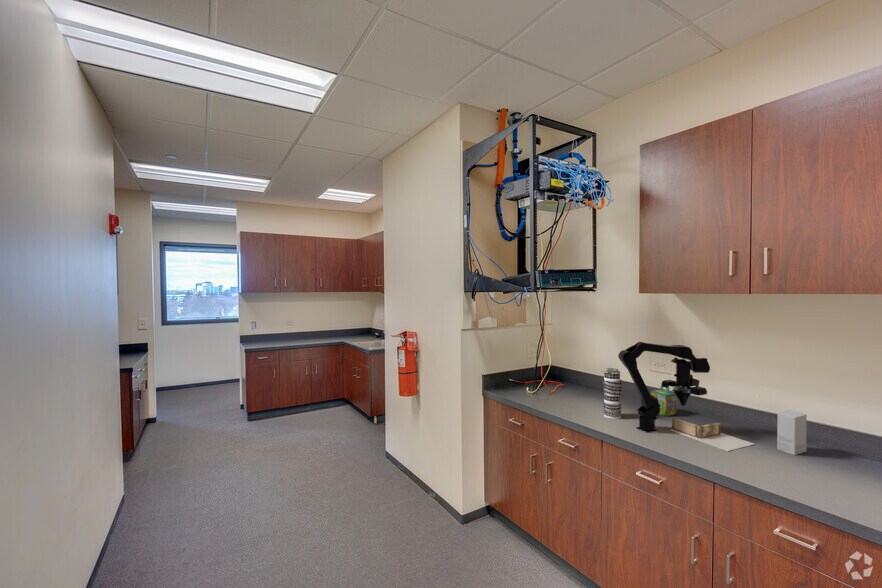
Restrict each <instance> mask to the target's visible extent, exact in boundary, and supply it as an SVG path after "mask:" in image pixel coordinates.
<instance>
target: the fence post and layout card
mask: <svg viewBox="0 0 882 588" xmlns="http://www.w3.org/2000/svg"><path fill="white" fill-rule="evenodd" d="M701 425H702V424H701ZM701 425H700V424H694V423H691V422H688V421H685V420H682V419H679V418H677V417H672V418H671V429H669V431H670V432H674V433H676V434H679V435H682V436H684V437H687V438H690V439H693V440H696V441H698V442H701V443H703V444H706V445H709V446H712V447H715V448H717V449H720V450H723V451H726V452H732V451H737V450H740V449H743V448H748V447H751V446H754V445H755V443H753V442H751V441H748V440H744V439H741V438H738V437H735V436H732V435H729V434H726V433H723V432H721V434H717V435H712V436H706V437H702V426H701Z"/></svg>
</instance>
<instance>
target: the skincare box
mask: <svg viewBox="0 0 882 588" xmlns="http://www.w3.org/2000/svg"><path fill="white" fill-rule="evenodd" d="M807 417H808V415H807V414H805V413H802V412H799V411H794V410H789V409H788V410H784V411H781V412H777V424H776V425H777V427H776V428H777V435H776V436H777V439H776V444H777V445H776V450H778V451H782V452H783V453H787V454H789V455H793V456H797V455H799V454H803V453H806V452H807Z"/></svg>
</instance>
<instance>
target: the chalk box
mask: <svg viewBox="0 0 882 588" xmlns="http://www.w3.org/2000/svg"><path fill="white" fill-rule="evenodd" d="M664 388H665V389H664ZM650 395H653V396H654V397H656V398H657V400H658V403H659V405H660V406H661V407H660V409H661V411H660V413H659V414H658V415H660V416H663V417H669V416H674V415H678V413H677V412H678V397H677V395H676V394H675V392H674V391H671V390H670V386H669V387H667V388H666V387H662V384H661V385H660V389H654V390H650Z"/></svg>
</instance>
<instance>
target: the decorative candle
mask: <svg viewBox="0 0 882 588" xmlns="http://www.w3.org/2000/svg"><path fill="white" fill-rule="evenodd" d="M603 372H604V374H603V375H604V376H603V381H602V384H603V385H602V387H603V392H602V393H603V394H604V399H603V403H602V404H603V409H602V410H603V417H604V418H606V419H610V420H620V419H621V418H622V407H621V406H622V403H621V396H622V393H621V392H622V386H621V385H622V383H623V382H622V379H621V371H619V369H617V368H613V367H608V368H605V370H604V371H603Z"/></svg>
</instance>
